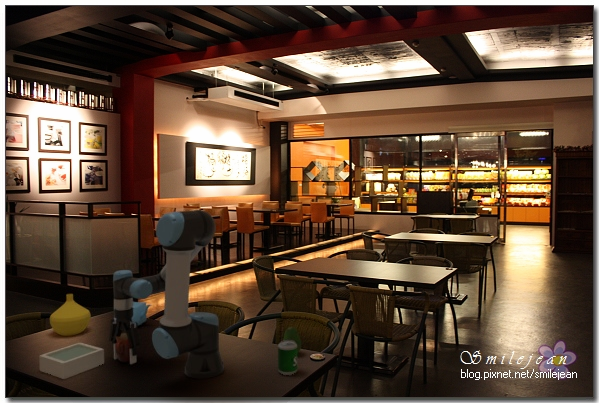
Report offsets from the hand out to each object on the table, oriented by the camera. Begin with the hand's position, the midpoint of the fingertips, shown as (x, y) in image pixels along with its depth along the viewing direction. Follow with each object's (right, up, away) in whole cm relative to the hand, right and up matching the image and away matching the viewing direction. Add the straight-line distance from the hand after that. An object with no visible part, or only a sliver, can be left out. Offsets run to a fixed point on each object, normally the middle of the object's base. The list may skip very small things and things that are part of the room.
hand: (125, 360), depth 209 cm
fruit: (+70, 0, +6) cm, 70 cm away
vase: (-40, +1, +38) cm, 55 cm away
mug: (0, 0, 0) cm, 0 cm away
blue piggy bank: (-11, +2, +48) cm, 49 cm away
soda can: (+68, -1, -13) cm, 70 cm away
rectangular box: (-19, -1, -6) cm, 20 cm away
